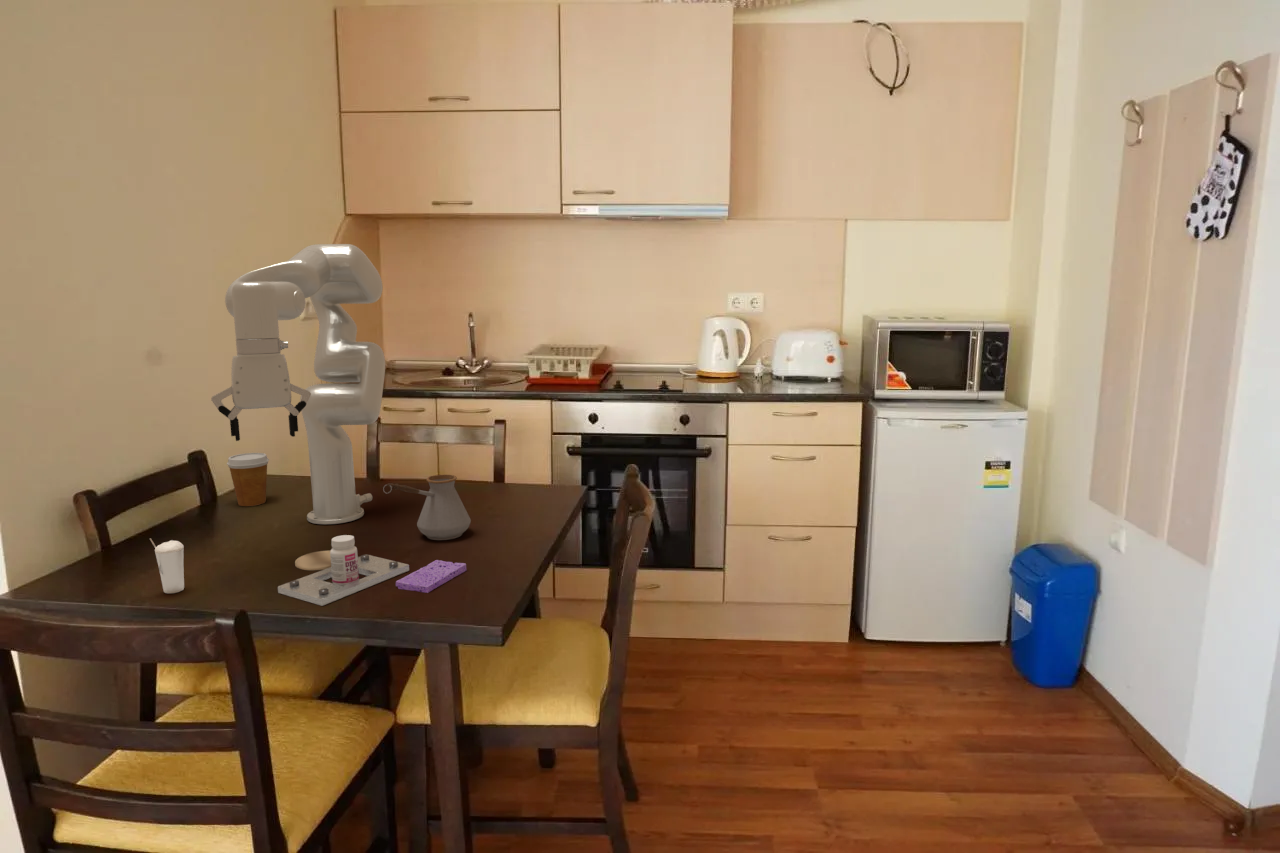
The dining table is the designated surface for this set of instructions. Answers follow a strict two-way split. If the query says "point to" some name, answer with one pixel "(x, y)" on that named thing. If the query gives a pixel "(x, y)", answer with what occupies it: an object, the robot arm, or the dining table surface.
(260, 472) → the disposable coffee cup
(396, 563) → the flange plate
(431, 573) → the sponges
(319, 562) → the cork coaster
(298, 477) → the dining table surface
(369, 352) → the robot arm
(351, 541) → the pill bottle
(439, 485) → the coffee pot
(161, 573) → the milkshake
